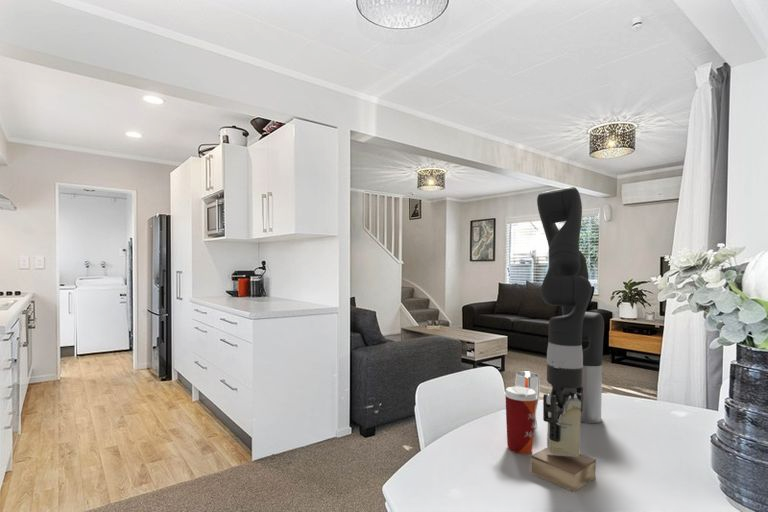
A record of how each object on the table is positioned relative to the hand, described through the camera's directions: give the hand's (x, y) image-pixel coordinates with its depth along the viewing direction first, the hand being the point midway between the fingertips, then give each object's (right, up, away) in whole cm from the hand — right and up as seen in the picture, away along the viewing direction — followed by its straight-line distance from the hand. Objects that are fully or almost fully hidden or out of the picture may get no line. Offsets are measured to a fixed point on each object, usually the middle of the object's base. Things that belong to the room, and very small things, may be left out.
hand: (563, 436), depth 96 cm
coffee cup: (-6, -9, +13) cm, 17 cm away
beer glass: (+2, -10, +30) cm, 32 cm away
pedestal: (0, -9, 0) cm, 9 cm away
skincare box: (0, -4, 0) cm, 4 cm away
